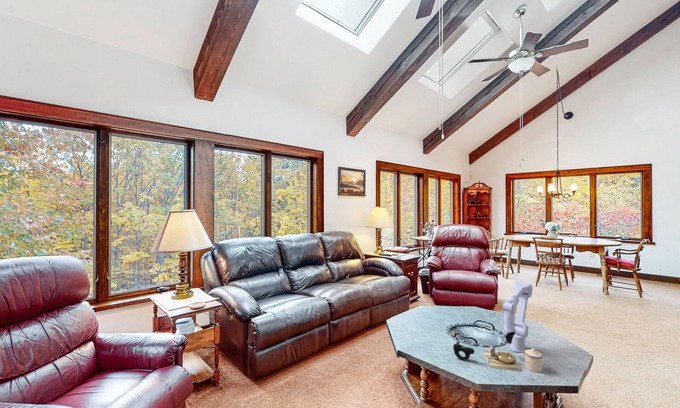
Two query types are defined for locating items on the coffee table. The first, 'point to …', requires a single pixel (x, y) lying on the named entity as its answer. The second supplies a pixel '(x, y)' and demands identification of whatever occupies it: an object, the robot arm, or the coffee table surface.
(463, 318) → the coffee table surface
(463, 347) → the controller
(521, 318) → the robot arm
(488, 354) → the slatted wooden board
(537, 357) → the teacup with lid
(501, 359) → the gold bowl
